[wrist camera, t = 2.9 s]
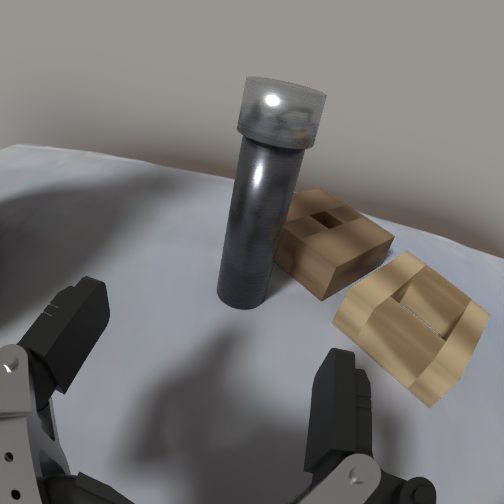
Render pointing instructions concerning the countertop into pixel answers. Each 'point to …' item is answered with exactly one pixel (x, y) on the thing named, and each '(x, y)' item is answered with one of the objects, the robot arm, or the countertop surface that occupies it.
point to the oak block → (413, 325)
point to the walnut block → (329, 243)
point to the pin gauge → (264, 183)
